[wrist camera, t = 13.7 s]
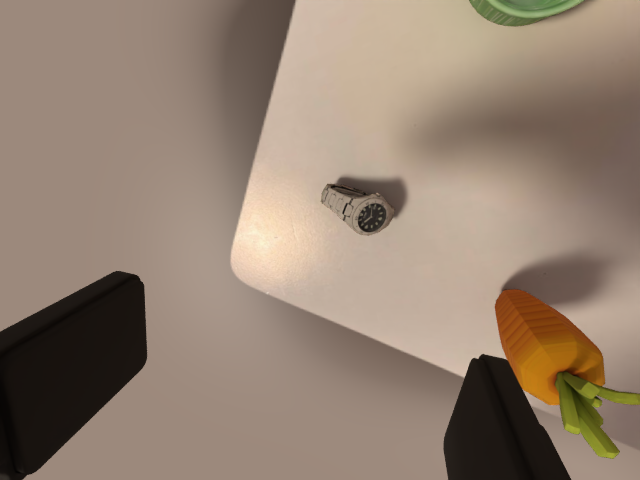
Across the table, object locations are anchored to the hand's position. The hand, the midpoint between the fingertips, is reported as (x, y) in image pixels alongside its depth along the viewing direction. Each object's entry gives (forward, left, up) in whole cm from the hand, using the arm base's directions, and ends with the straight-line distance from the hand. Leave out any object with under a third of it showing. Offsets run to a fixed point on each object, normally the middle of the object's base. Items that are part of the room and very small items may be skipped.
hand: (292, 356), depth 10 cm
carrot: (-6, -14, -22) cm, 27 cm away
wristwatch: (0, 0, -22) cm, 22 cm away
